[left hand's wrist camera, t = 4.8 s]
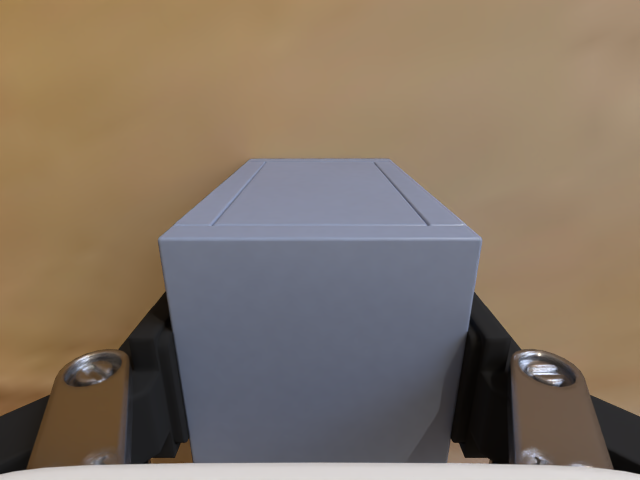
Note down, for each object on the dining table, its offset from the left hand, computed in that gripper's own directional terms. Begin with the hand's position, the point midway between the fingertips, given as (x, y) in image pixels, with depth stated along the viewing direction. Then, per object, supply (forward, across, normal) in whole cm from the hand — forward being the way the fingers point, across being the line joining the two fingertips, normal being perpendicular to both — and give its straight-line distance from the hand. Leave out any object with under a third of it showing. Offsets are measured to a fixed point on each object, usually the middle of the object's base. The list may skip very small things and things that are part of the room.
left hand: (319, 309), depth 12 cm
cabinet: (+7, 0, -6) cm, 9 cm away
